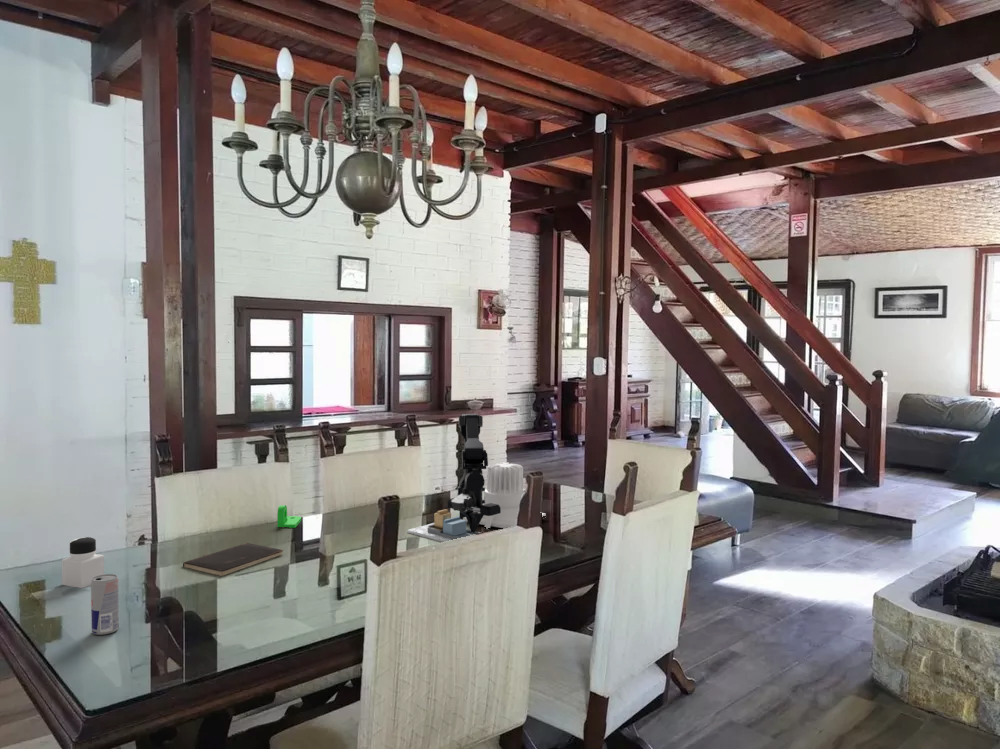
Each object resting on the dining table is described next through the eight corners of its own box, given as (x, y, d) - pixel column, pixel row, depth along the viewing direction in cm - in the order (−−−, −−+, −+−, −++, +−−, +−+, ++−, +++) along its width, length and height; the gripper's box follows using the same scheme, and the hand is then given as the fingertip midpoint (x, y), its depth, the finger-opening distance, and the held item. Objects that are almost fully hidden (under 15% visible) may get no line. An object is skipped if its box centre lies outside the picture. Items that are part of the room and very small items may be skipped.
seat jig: (436, 525, 257) (436, 517, 257) (483, 536, 243) (483, 527, 243) (407, 533, 246) (407, 524, 246) (454, 545, 232) (454, 536, 232)
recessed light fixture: (513, 534, 246) (514, 472, 245) (460, 525, 258) (460, 466, 257) (547, 519, 268) (548, 462, 267) (497, 512, 279) (497, 457, 278)
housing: (457, 530, 246) (457, 516, 245) (466, 532, 243) (466, 518, 243) (443, 534, 240) (443, 520, 240) (451, 536, 238) (452, 522, 238)
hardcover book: (283, 557, 220) (283, 549, 220) (221, 578, 200) (221, 570, 200) (245, 549, 228) (245, 542, 227) (182, 569, 207) (182, 561, 207)
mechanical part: (295, 530, 250) (295, 507, 250) (277, 530, 250) (277, 507, 249) (302, 521, 262) (302, 499, 262) (285, 521, 262) (285, 499, 261)
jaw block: (442, 528, 248) (442, 508, 248) (451, 530, 246) (451, 510, 245) (434, 531, 245) (434, 510, 245) (442, 533, 243) (442, 512, 242)
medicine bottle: (105, 580, 196) (104, 536, 195) (81, 589, 189) (81, 543, 188) (84, 577, 198) (84, 534, 197) (61, 586, 191) (60, 541, 191)
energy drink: (98, 626, 165) (97, 574, 164) (123, 625, 165) (122, 573, 165) (87, 635, 159) (86, 581, 159) (112, 635, 160) (111, 581, 159)
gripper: (435, 484, 235) (435, 532, 236) (478, 492, 223) (478, 542, 224) (459, 479, 244) (458, 525, 245) (501, 487, 232) (501, 535, 233)
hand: (473, 532), depth 236 cm, fingers closed
